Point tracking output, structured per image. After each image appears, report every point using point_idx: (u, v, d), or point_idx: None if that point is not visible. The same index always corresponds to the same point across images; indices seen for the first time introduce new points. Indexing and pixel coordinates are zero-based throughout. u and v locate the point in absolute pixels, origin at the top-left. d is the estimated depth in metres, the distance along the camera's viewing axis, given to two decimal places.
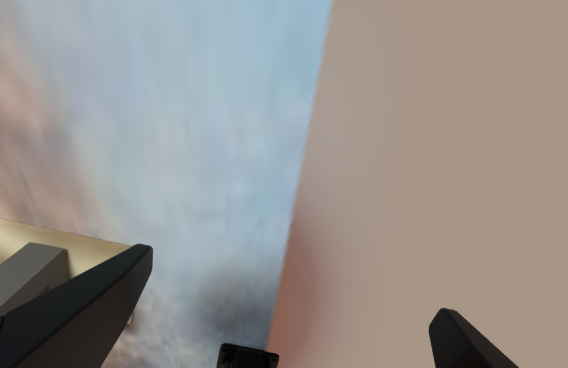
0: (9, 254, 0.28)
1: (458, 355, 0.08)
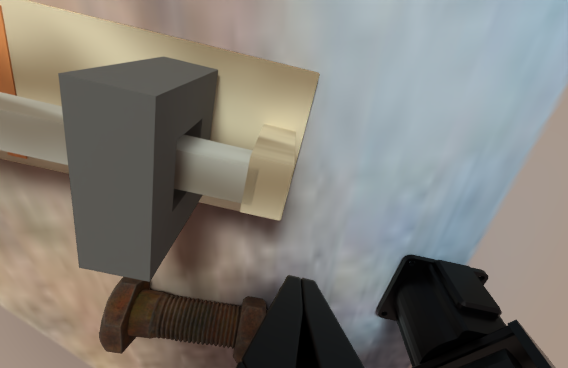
0: None
1: None
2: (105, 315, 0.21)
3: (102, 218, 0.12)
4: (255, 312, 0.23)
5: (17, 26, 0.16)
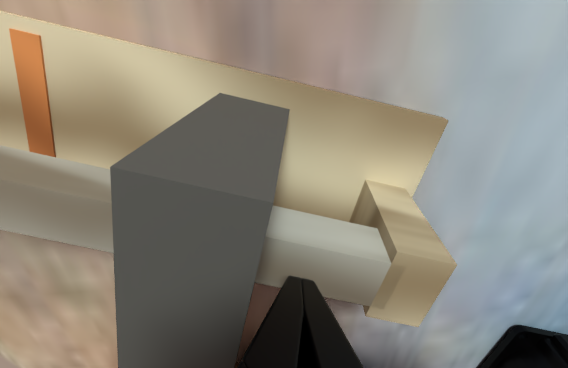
0: None
1: None
2: None
3: (160, 356, 0.08)
4: None
5: (60, 61, 0.13)
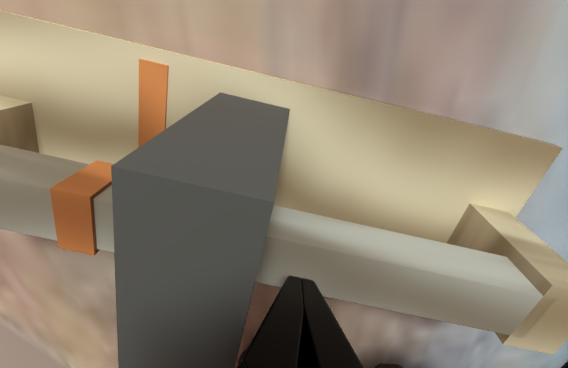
0: (299, 163, 0.14)
1: None
2: None
3: (161, 356, 0.08)
4: None
5: (183, 90, 0.13)
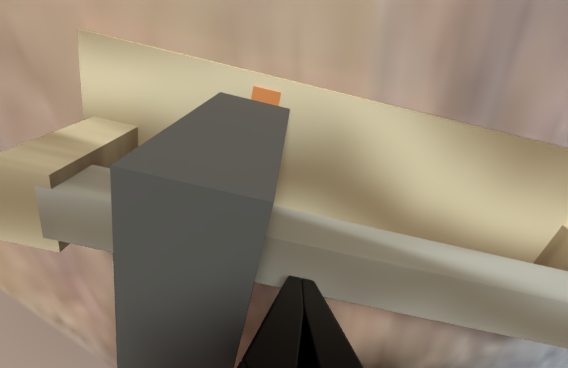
0: (397, 186, 0.14)
1: None
2: None
3: (160, 356, 0.08)
4: None
5: (292, 116, 0.13)
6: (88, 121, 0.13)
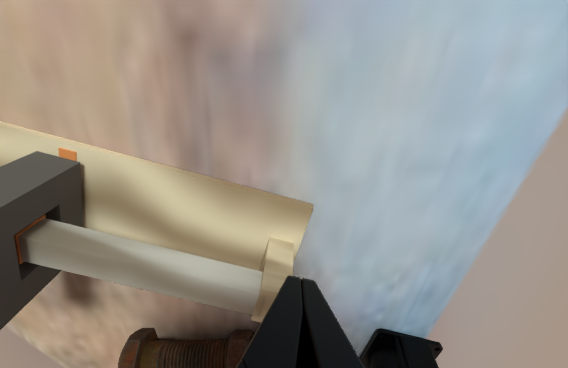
0: (161, 209, 0.23)
1: None
2: None
3: None
4: (239, 344, 0.27)
5: (86, 165, 0.22)
6: None
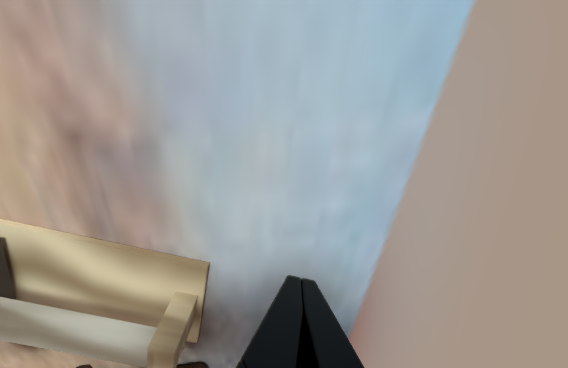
0: (78, 271, 0.26)
1: None
2: None
3: None
4: None
5: (7, 238, 0.25)
6: None
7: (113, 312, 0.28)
